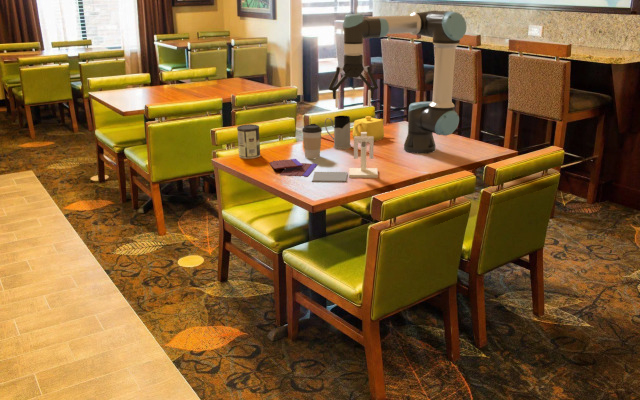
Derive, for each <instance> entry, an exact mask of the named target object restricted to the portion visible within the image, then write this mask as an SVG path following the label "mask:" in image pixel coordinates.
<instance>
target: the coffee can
mask: <svg viewBox="0 0 640 400" xmlns="http://www.w3.org/2000/svg"><path fill="white" fill-rule="evenodd" d="M236 129H237V130H236V131H237V141H238V157H239V158H240V159H244V160H245V159H247V160H248V159H249V160H250V159H251V160H252V159H256V158H259V157H261V144H260V125H257V124H242V125H238V126H236Z"/></svg>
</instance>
